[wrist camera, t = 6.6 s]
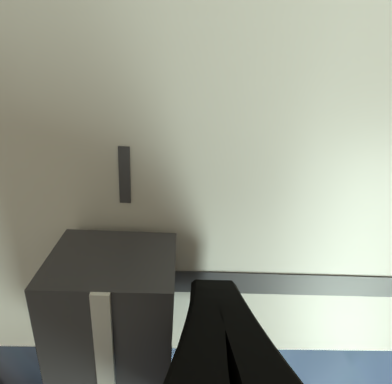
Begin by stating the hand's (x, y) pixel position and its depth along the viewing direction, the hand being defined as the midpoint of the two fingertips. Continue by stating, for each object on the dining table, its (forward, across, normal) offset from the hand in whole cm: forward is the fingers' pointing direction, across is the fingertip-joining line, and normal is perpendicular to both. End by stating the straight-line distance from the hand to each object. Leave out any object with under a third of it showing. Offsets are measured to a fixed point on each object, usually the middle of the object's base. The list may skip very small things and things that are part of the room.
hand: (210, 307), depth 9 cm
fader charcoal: (+1, +3, 0) cm, 3 cm away
